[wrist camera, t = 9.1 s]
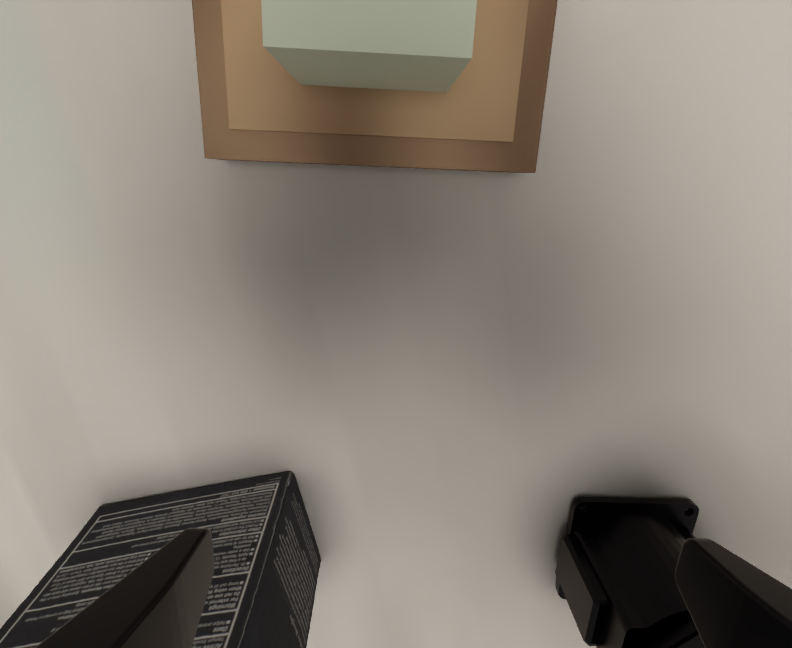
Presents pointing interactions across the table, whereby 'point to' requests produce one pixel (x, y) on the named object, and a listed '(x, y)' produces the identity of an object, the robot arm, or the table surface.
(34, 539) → the table surface
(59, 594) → the small box
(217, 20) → the brown wooden tray
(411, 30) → the sage cube
